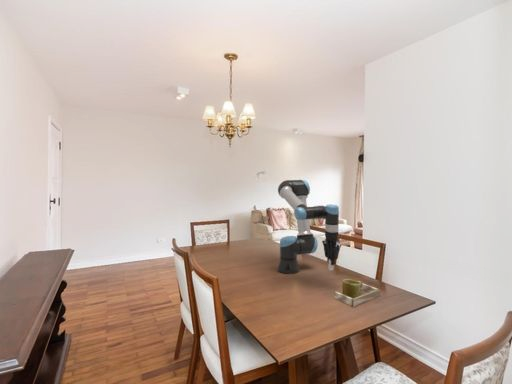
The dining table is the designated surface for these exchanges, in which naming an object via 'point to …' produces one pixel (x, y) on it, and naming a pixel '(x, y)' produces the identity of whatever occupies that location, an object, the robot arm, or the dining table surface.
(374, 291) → the cradle
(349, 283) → the mug
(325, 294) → the dining table surface
